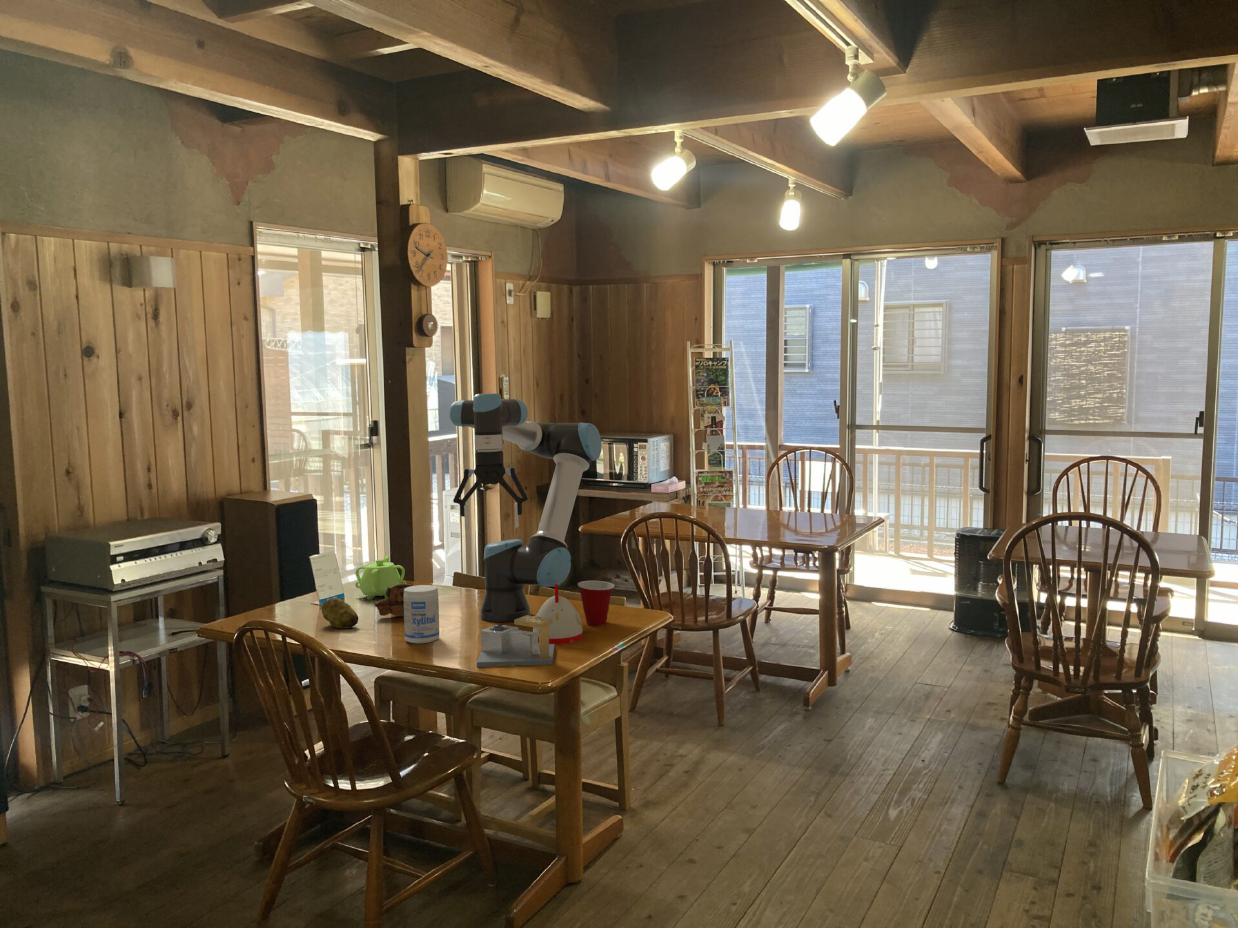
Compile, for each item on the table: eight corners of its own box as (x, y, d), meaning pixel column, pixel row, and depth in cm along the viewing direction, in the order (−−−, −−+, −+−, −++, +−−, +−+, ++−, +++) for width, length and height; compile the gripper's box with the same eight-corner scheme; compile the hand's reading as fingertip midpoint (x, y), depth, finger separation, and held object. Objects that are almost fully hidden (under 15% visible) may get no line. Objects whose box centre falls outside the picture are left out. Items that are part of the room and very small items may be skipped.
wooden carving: (377, 621, 290) (376, 588, 290) (374, 618, 295) (373, 586, 294) (431, 614, 298) (429, 582, 297) (427, 611, 302) (426, 580, 301)
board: (483, 650, 256) (483, 646, 256) (554, 648, 256) (554, 643, 256) (476, 666, 241) (476, 662, 241) (552, 664, 242) (552, 659, 242)
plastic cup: (616, 627, 276) (615, 586, 275) (579, 628, 276) (577, 587, 275) (614, 617, 287) (613, 578, 286) (578, 619, 287) (577, 579, 286)
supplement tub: (413, 646, 262) (411, 593, 260) (399, 639, 269) (396, 588, 268) (446, 639, 268) (443, 588, 266) (430, 633, 275) (428, 582, 274)
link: (481, 650, 252) (480, 630, 251) (499, 644, 257) (498, 624, 257) (525, 658, 243) (525, 637, 243) (543, 651, 249) (542, 631, 248)
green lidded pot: (350, 595, 327) (348, 559, 326) (389, 589, 336) (387, 553, 335) (370, 603, 314) (368, 565, 313) (410, 596, 323) (408, 559, 322)
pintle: (495, 647, 254) (494, 624, 253) (503, 647, 254) (502, 623, 253) (494, 650, 252) (493, 626, 251) (502, 649, 252) (501, 625, 251)
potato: (333, 633, 278) (331, 605, 277) (319, 624, 289) (317, 598, 288) (361, 628, 283) (359, 601, 282) (346, 619, 293) (345, 594, 293)
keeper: (528, 650, 251) (527, 615, 250) (555, 655, 246) (554, 619, 245) (515, 655, 246) (514, 619, 246) (543, 660, 241) (542, 623, 241)
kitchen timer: (532, 645, 260) (530, 591, 259) (533, 632, 274) (531, 580, 272) (583, 643, 261) (582, 589, 260) (582, 630, 275) (580, 578, 273)
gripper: (440, 452, 256) (444, 531, 258) (534, 450, 257) (536, 528, 259) (445, 450, 264) (448, 526, 266) (535, 448, 264) (538, 524, 266)
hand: (492, 527), depth 262 cm, fingers open, 13 cm apart
